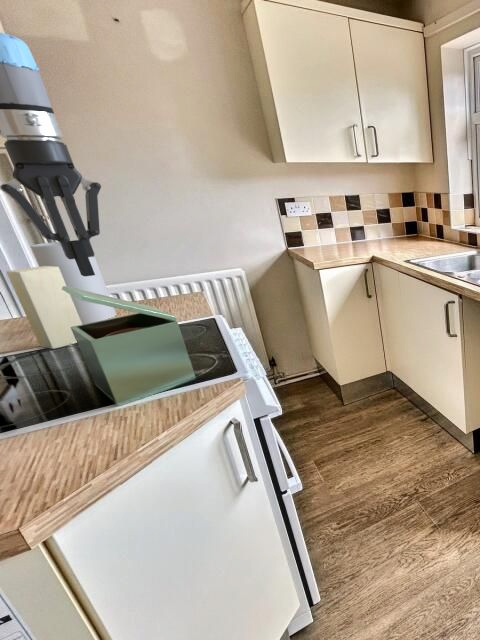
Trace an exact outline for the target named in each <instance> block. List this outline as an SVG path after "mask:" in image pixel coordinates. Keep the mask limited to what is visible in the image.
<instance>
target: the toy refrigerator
mask: <svg viewBox="0 0 480 640" xmlns="http://www.w3.org/2000/svg"><path fill="white" fill-rule="evenodd" d="M6 275H7V277H8V279H9V282H10V284H11V285H12V289H13V290H14V292H15V294H16V296H17V299H18V301H19V303H20V305H21V307H22V310H23V311H24V314H25V316H26V319H27V320H28V322H29V323H28V324H29V325H30V327H31V329H32V331H33V334H34V336H35V338H36V340H37V342H38V345H39V346H40V347H41V348H46V349H51V350H56V349H59V348H62V347H63V348H64V347H66V346H70V345H74V344H77V342H76V339H75V337H74V334H73V332H72V330H71V327H73V326H77V325H82V323H81V320H80V318H79V315H78V313H77V311H76V308H75V306H74V303H73V301H72V298H71V296H70V294H69V293H67V292H65V291H63V290H62V287H63V286H66V284H65V281H64V279H63V276H62V274H61V271H60V269H59V267H54V266H41V267H39V266H35V267H25V268H20V269H13V270H6ZM66 287H67V286H66ZM73 342H75V343H73ZM70 343H71V344H70Z"/></svg>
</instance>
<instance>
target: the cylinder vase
mask: <svg viewBox="0 0 480 640" xmlns="http://www.w3.org/2000/svg"><path fill="white" fill-rule="evenodd" d="M30 248H31V251H32V253H33V256H34V257H35V260H36V263H37V264H38V267H41V266H54V267H59V269H60V271H61V274H62V276H63V279H64V281H65V284H66V286H67V287H70V288H75V289H79V290H83V291H88V292H92V293H96V294H100V295H105V296H109V297H111V296H110V293H109V290H108V288H107V285H106V283H105V280H104V277H103V274H102V272H101V270H100V269H101V268H100V267H99V264H98V262H97V259H96V257H95V256H94V257H88V258H89V260H90V263H91V266H92V268H93V271H94V273H95V275H93V276H86V277H85V276H82V275H81V273H80V271H79V268H78V266H77V263H76V261H75V259H68V258H67V257H66V256H65V254H64V251H63V249H62V246H61V244H60V242H58V241H54V242H44V243H38V244H31V245H30ZM70 296H71V298H72V301H73V303H74V306H75V308H76V311H77V313H78V315H79V318H80V320H81V323H82V324H87V323H92V322H97V321H101V320H105V319H108V318H111V317H114V316H115V315H117V316H118V313H117V311H116V308H115V307H110V306H105V305H101V304H96V303H92V302H87V301H83V300H80V299H78V298H77V297H75V296H73V295H71V294H70Z"/></svg>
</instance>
